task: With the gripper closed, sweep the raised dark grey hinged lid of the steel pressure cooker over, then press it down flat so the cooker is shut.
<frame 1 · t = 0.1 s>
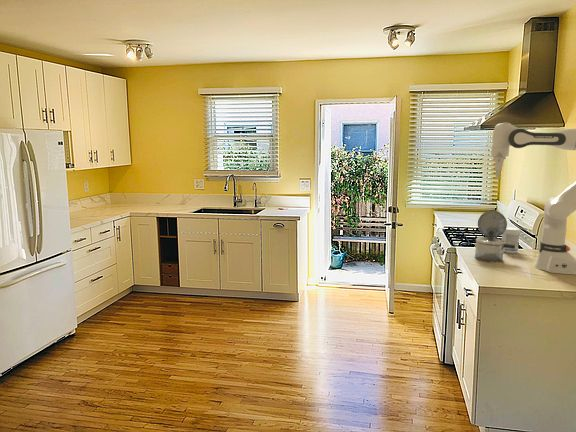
hand: (497, 177, 258), 48 cm above the countertop, tool pointing down, fingers open, 8 cm apart
cooker pot: (488, 258, 271), on the countertop
supplement tub: (508, 251, 289), on the countertop
cooker lid: (492, 224, 278), point 19 cm above the countertop, hinge at 100.0°
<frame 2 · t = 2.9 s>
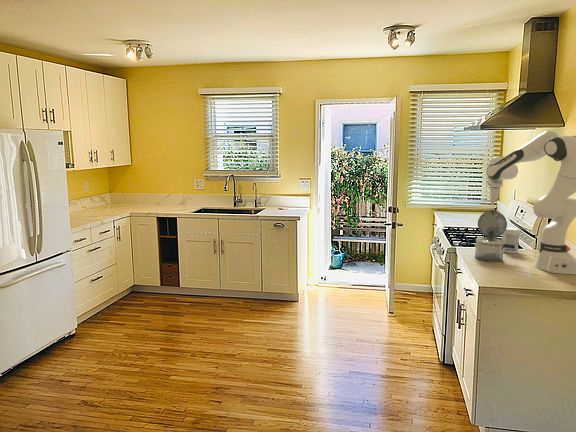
hand: (492, 205, 288), 28 cm above the countertop, tool pointing down, fingers closed
nothing on the countertop moved.
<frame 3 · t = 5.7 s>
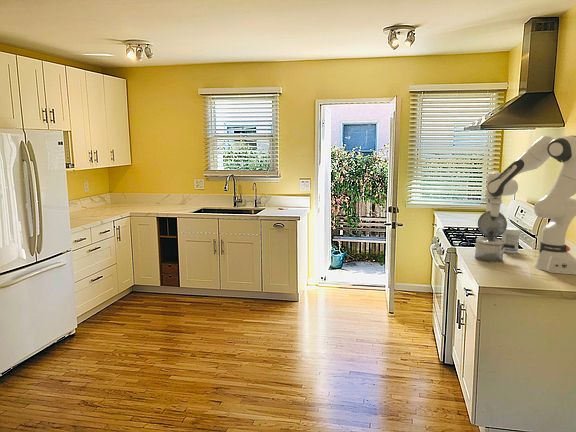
hand: (490, 221, 281), 20 cm above the countertop, tool pointing down, fingers closed
cooker lid: (492, 224, 278), point 19 cm above the countertop, hinge at 100.0°, touching gripper
everything else where it was.
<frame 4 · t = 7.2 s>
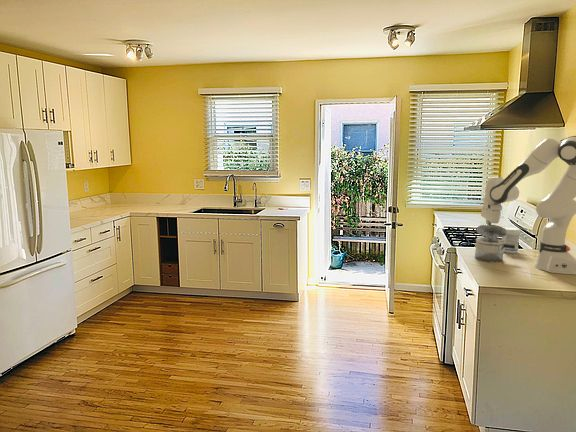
hand: (488, 227, 273), 18 cm above the countertop, tool pointing down, fingers closed
cooker lid: (491, 230, 271), point 17 cm above the countertop, hinge at 33.8°, touching gripper
everything else where it was.
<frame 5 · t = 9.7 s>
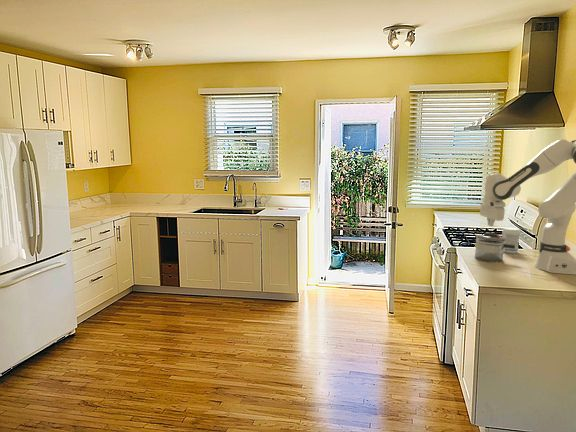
hand: (490, 225, 265), 20 cm above the countertop, tool pointing down, fingers closed
cooker lid: (490, 236, 269), point 14 cm above the countertop, hinge at 6.2°
everything else where it was.
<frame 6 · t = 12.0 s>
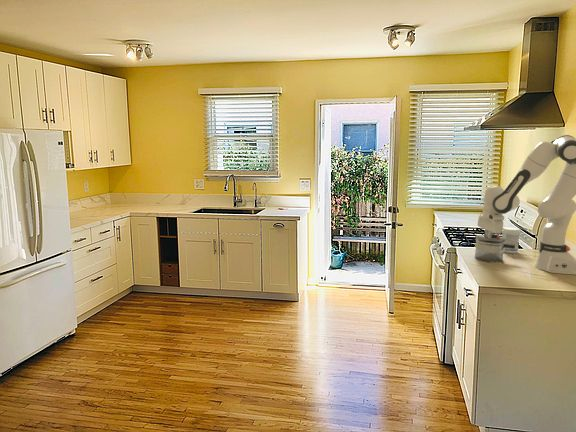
hand: (488, 237, 266), 13 cm above the countertop, tool pointing down, fingers closed
cooker lid: (490, 236, 269), point 13 cm above the countertop, hinge at 3.2°, touching gripper
everything else where it was.
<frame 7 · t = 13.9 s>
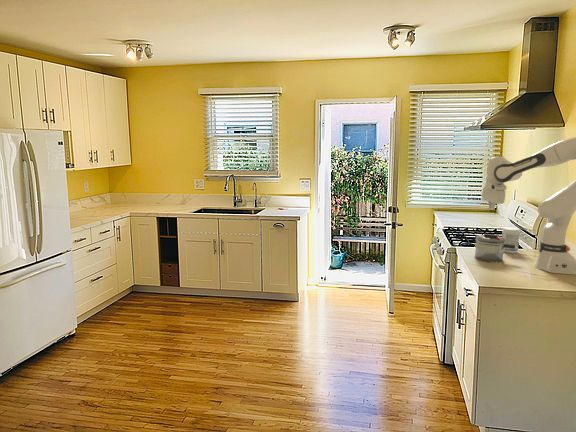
hand: (491, 209, 266), 29 cm above the countertop, tool pointing down, fingers closed
cooker lid: (490, 237, 269), point 13 cm above the countertop, hinge at 1.6°
everything else where it was.
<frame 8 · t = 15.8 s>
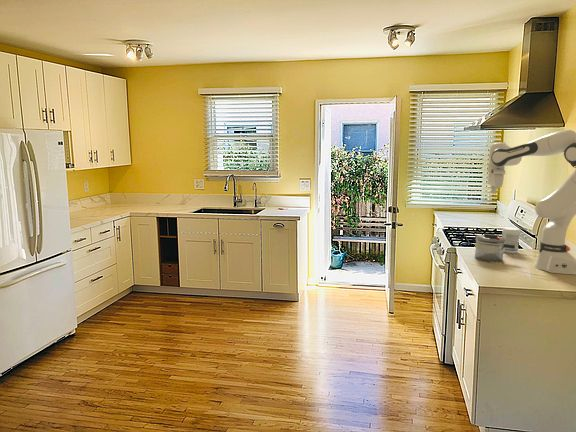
hand: (493, 193, 277), 37 cm above the countertop, tool pointing down, fingers closed
nothing on the countertop moved.
at the end: cooker lid at +2° (first picture: +100°); supplement tub moved 0.2 cm from its start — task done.
